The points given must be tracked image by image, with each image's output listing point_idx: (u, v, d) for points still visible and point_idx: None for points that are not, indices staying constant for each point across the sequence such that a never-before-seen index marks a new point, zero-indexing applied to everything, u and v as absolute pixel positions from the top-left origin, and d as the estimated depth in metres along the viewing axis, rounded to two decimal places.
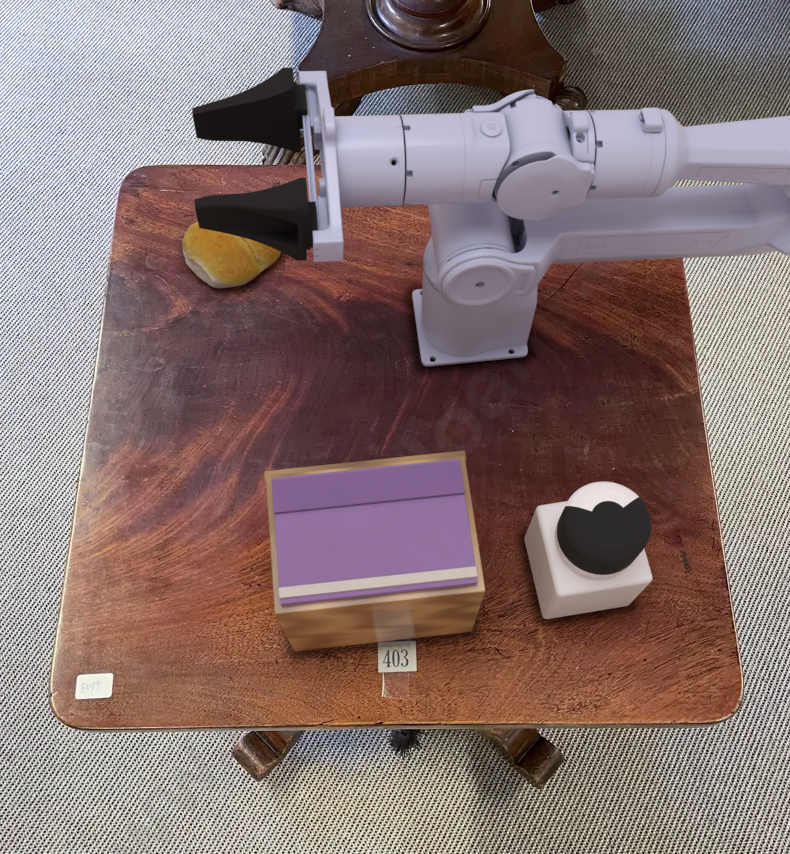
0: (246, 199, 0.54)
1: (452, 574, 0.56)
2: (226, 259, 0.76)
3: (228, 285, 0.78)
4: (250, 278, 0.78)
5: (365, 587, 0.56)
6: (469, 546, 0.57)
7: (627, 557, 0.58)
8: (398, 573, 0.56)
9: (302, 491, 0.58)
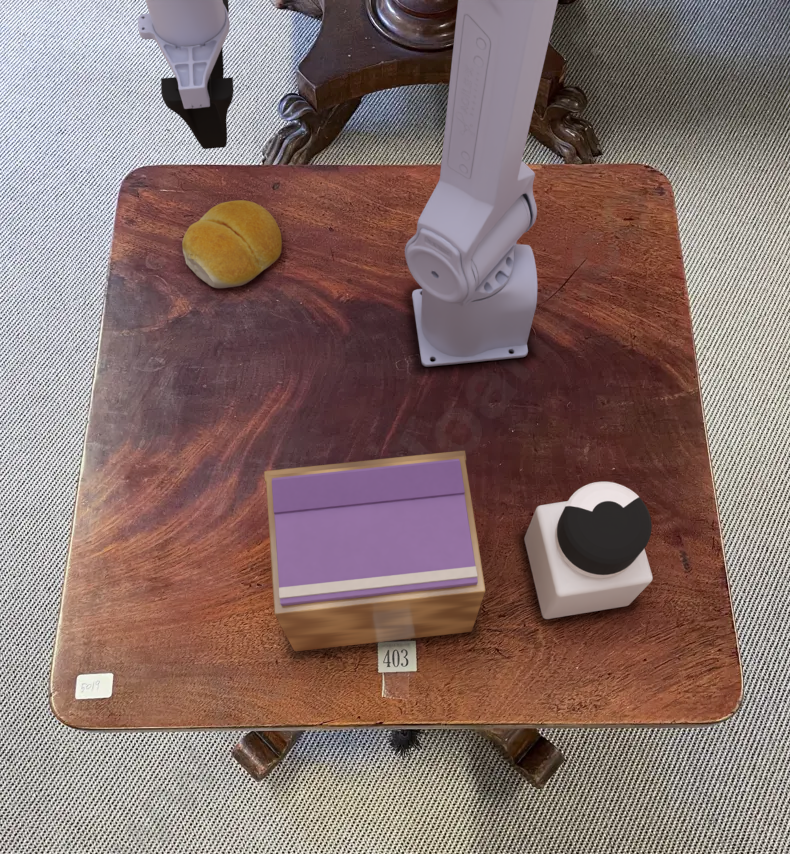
0: None
1: (452, 574, 0.56)
2: (226, 259, 0.76)
3: (228, 285, 0.78)
4: (250, 278, 0.78)
5: (365, 587, 0.56)
6: (469, 546, 0.57)
7: (627, 557, 0.58)
8: (398, 573, 0.56)
9: (302, 491, 0.58)
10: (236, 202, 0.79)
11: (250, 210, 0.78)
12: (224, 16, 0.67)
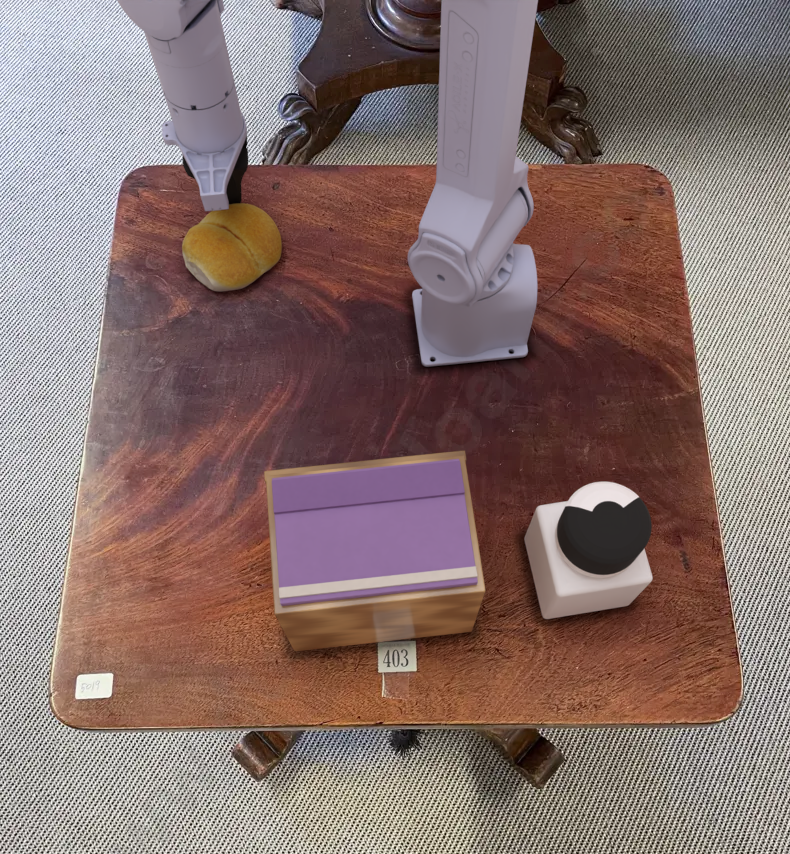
0: None
1: (452, 574, 0.56)
2: (226, 262, 0.76)
3: (228, 288, 0.78)
4: (250, 281, 0.78)
5: (365, 587, 0.56)
6: (469, 546, 0.57)
7: (627, 557, 0.58)
8: (398, 573, 0.56)
9: (302, 491, 0.58)
10: (236, 205, 0.79)
11: (251, 214, 0.78)
12: (242, 124, 0.72)
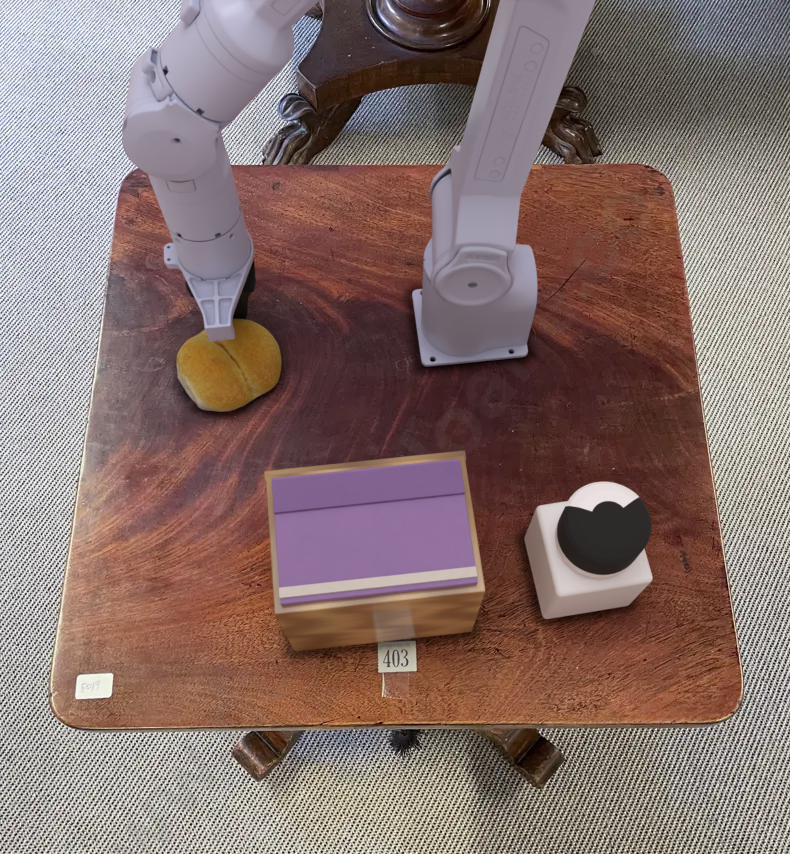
0: None
1: (452, 574, 0.56)
2: (215, 385, 0.72)
3: (215, 410, 0.73)
4: (239, 406, 0.73)
5: (365, 587, 0.56)
6: (469, 546, 0.57)
7: (627, 557, 0.58)
8: (398, 573, 0.56)
9: (302, 491, 0.58)
10: (239, 322, 0.74)
11: (251, 335, 0.73)
12: (249, 248, 0.67)
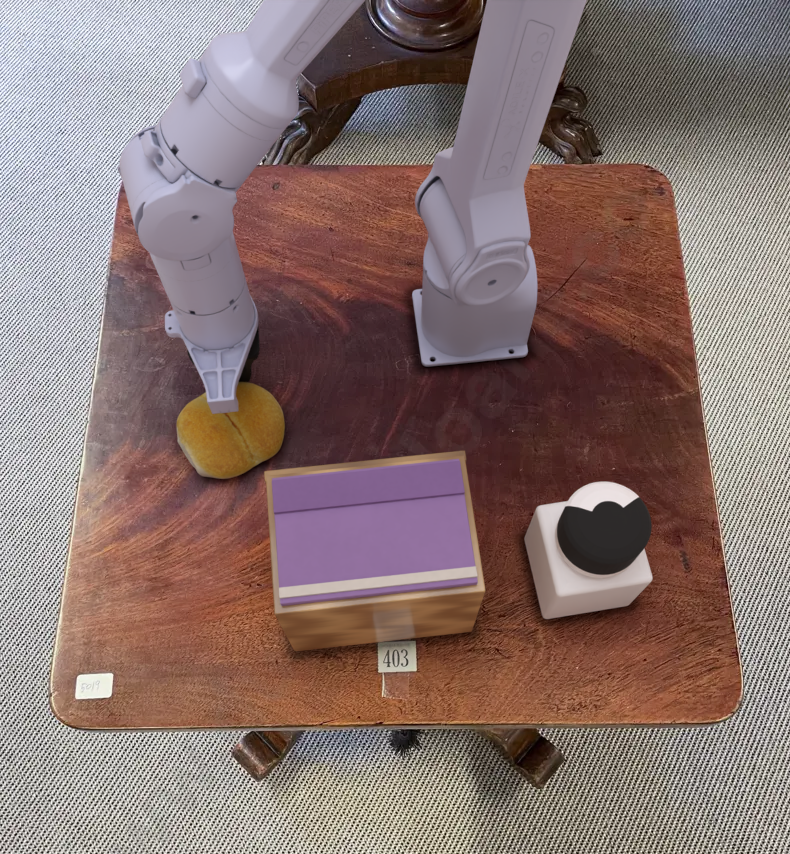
0: None
1: (452, 574, 0.56)
2: (215, 453, 0.70)
3: (215, 477, 0.71)
4: (240, 473, 0.71)
5: (365, 587, 0.56)
6: (469, 546, 0.57)
7: (627, 557, 0.58)
8: (398, 573, 0.56)
9: (302, 491, 0.58)
10: (242, 386, 0.72)
11: (254, 401, 0.71)
12: (253, 316, 0.65)
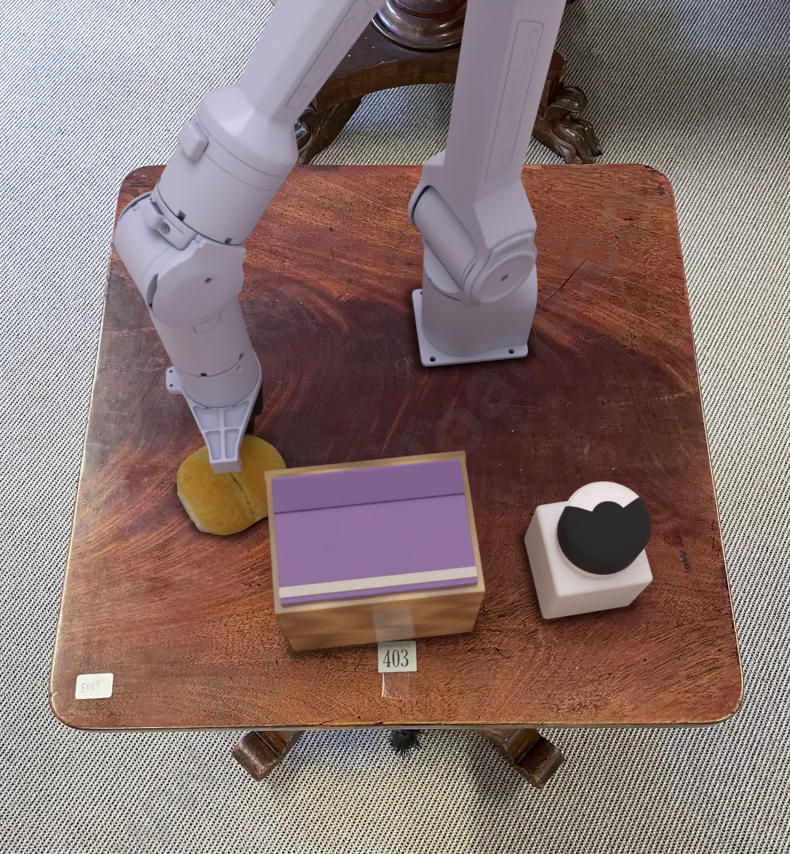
0: None
1: (452, 574, 0.56)
2: (215, 510, 0.68)
3: (215, 533, 0.69)
4: (241, 530, 0.69)
5: (365, 587, 0.56)
6: (469, 546, 0.57)
7: (627, 557, 0.58)
8: (398, 573, 0.56)
9: (302, 491, 0.58)
10: (245, 440, 0.70)
11: (257, 456, 0.69)
12: (257, 373, 0.63)
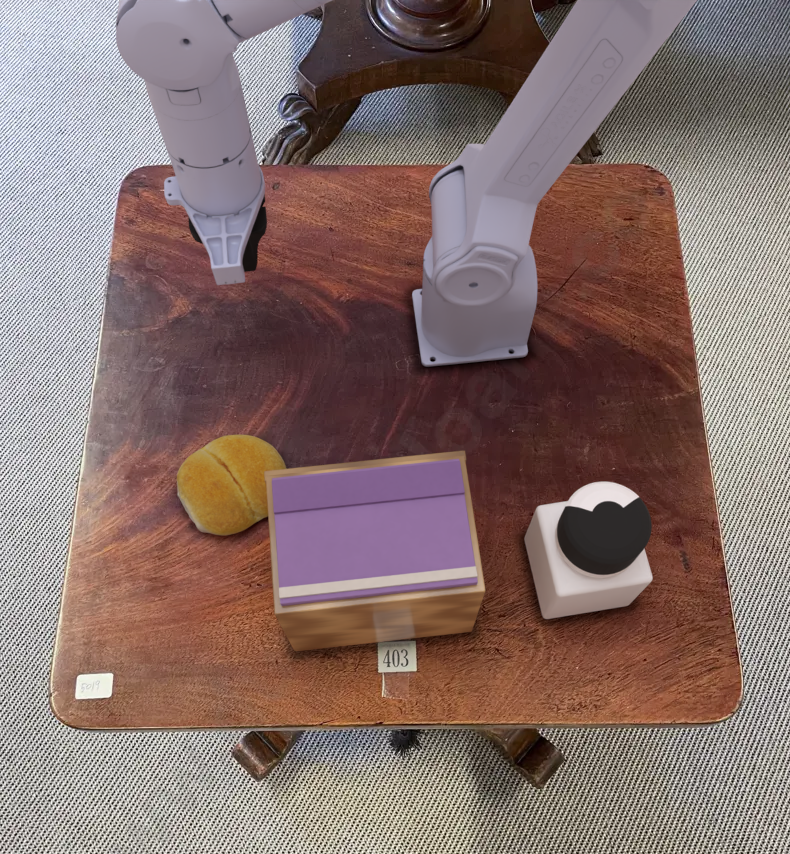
0: None
1: (452, 574, 0.56)
2: (215, 510, 0.68)
3: (215, 534, 0.69)
4: (241, 530, 0.69)
5: (365, 587, 0.56)
6: (469, 546, 0.57)
7: (627, 557, 0.58)
8: (398, 573, 0.56)
9: (302, 491, 0.58)
10: (245, 440, 0.70)
11: (257, 456, 0.69)
12: (260, 180, 0.60)
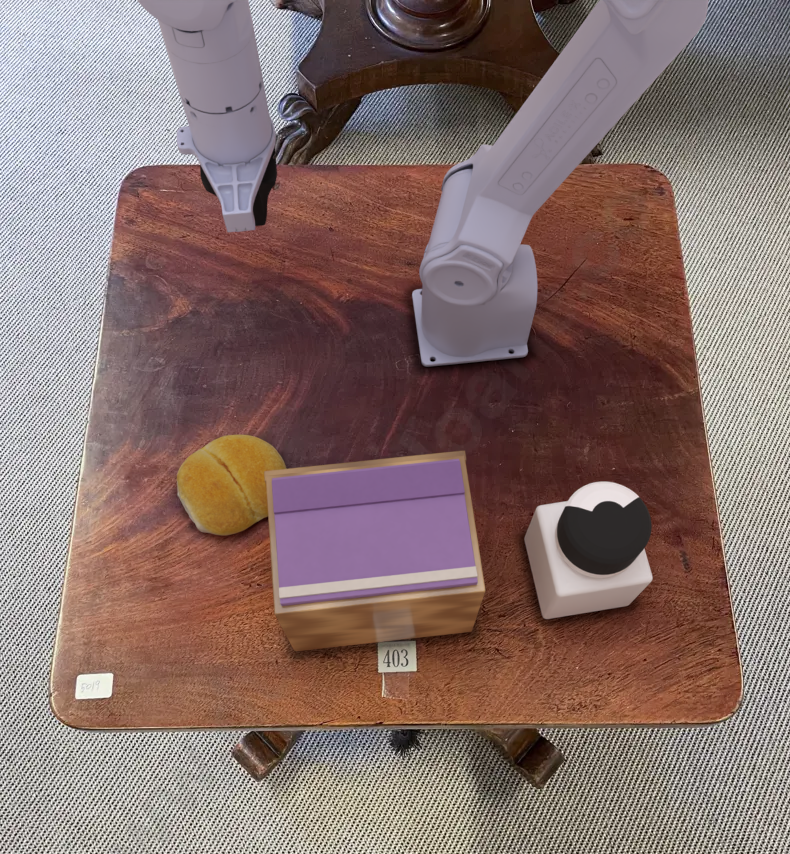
0: None
1: (452, 574, 0.56)
2: (215, 510, 0.68)
3: (215, 534, 0.69)
4: (241, 530, 0.69)
5: (365, 587, 0.56)
6: (469, 546, 0.57)
7: (627, 557, 0.58)
8: (398, 573, 0.56)
9: (302, 491, 0.58)
10: (245, 440, 0.70)
11: (257, 456, 0.69)
12: (270, 130, 0.61)
